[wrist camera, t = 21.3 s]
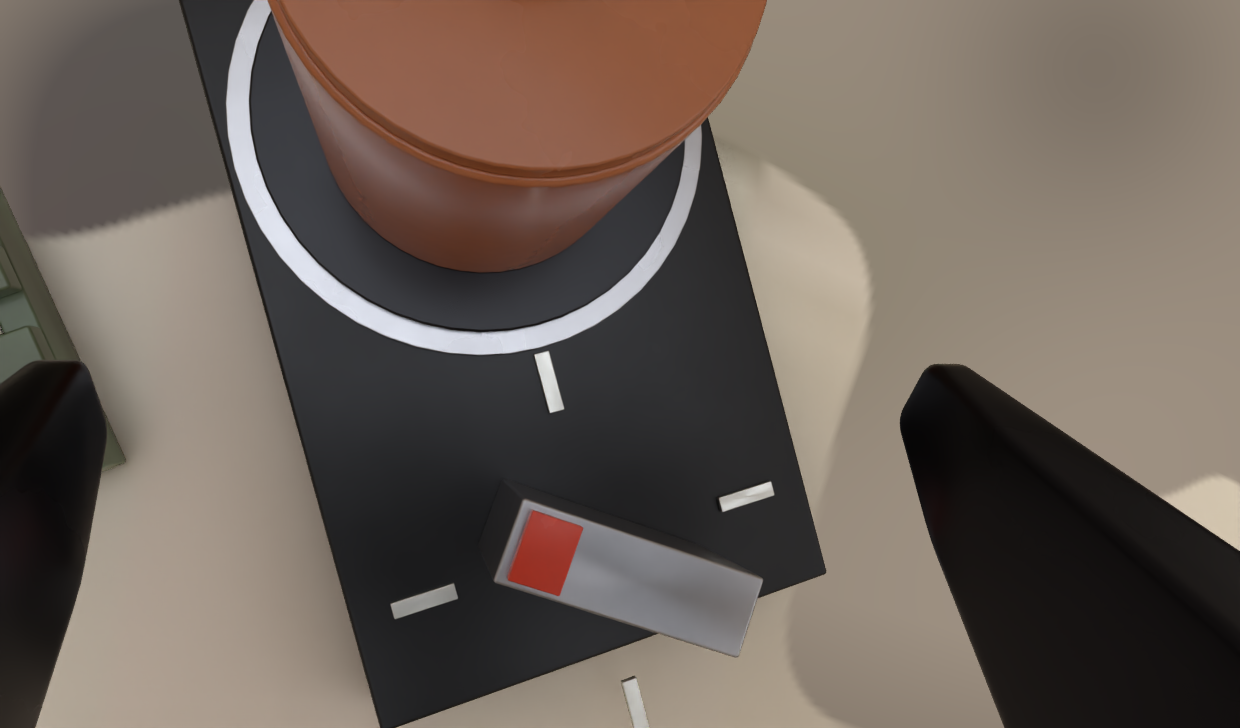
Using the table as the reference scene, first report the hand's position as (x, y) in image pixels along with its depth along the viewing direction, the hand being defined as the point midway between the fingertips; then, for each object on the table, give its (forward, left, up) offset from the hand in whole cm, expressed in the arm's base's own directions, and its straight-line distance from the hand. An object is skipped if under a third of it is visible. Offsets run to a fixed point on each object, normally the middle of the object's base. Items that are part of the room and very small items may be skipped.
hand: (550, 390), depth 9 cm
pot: (+6, -2, -10) cm, 11 cm away
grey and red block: (-4, -2, -10) cm, 11 cm away
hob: (+1, -2, -12) cm, 12 cm away
